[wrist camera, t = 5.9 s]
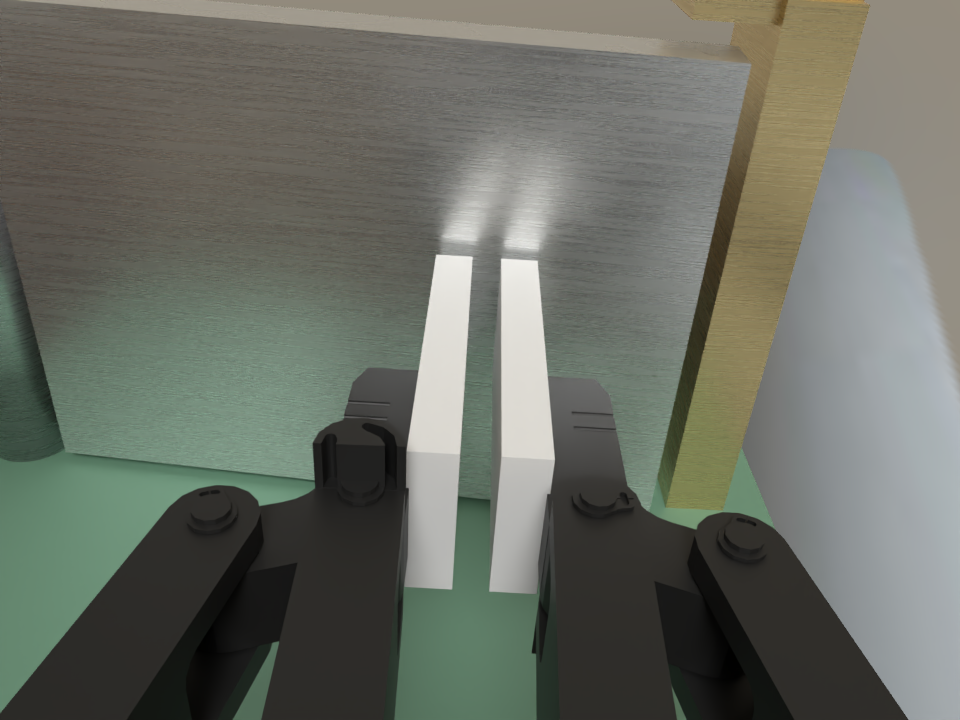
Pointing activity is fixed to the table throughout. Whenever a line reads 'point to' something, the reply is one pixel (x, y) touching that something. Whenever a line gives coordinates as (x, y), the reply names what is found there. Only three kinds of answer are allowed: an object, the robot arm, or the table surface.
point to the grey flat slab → (345, 214)
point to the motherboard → (423, 652)
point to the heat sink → (729, 267)
